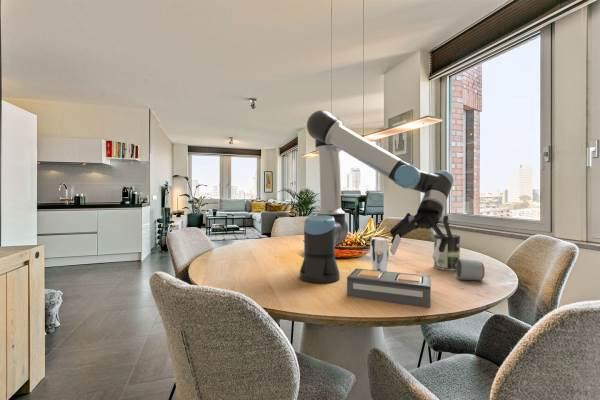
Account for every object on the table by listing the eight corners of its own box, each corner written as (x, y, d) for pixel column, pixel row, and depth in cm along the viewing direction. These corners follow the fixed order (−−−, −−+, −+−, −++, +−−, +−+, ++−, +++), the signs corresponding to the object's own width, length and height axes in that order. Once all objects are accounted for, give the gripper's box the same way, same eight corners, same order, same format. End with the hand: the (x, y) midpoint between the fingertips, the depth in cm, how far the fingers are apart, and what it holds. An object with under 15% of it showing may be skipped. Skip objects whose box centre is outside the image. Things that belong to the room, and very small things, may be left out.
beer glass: (385, 281, 111) (386, 240, 111) (367, 278, 115) (367, 239, 115) (391, 277, 117) (391, 238, 117) (373, 274, 121) (373, 236, 121)
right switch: (396, 290, 92) (396, 279, 92) (398, 284, 98) (398, 273, 98) (421, 293, 89) (421, 281, 89) (421, 286, 96) (422, 275, 96)
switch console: (346, 296, 95) (346, 277, 95) (355, 285, 107) (356, 268, 106) (430, 307, 86) (430, 286, 86) (430, 294, 97) (430, 275, 97)
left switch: (356, 285, 97) (356, 274, 97) (361, 279, 103) (361, 269, 103) (379, 288, 94) (379, 276, 94) (382, 282, 100) (382, 271, 100)
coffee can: (459, 266, 135) (459, 234, 134) (460, 271, 125) (460, 237, 125) (433, 264, 139) (434, 233, 139) (433, 269, 130) (433, 236, 129)
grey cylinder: (485, 283, 109) (486, 261, 109) (461, 281, 111) (461, 260, 111) (475, 275, 120) (475, 256, 120) (453, 274, 122) (453, 255, 122)
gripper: (473, 215, 99) (458, 270, 88) (400, 211, 116) (380, 256, 106) (469, 199, 95) (452, 254, 84) (394, 197, 112) (372, 243, 102)
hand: (412, 255), depth 95 cm, fingers open, 13 cm apart
